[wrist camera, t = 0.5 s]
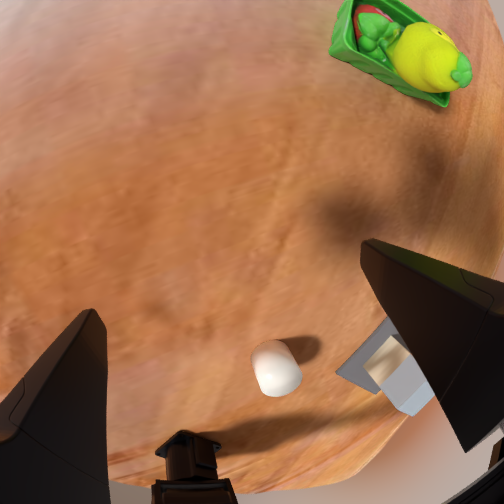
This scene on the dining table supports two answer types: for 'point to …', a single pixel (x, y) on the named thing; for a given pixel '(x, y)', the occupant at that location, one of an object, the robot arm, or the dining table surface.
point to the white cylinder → (275, 368)
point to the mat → (368, 357)
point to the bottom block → (386, 360)
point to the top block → (408, 387)
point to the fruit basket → (400, 49)
